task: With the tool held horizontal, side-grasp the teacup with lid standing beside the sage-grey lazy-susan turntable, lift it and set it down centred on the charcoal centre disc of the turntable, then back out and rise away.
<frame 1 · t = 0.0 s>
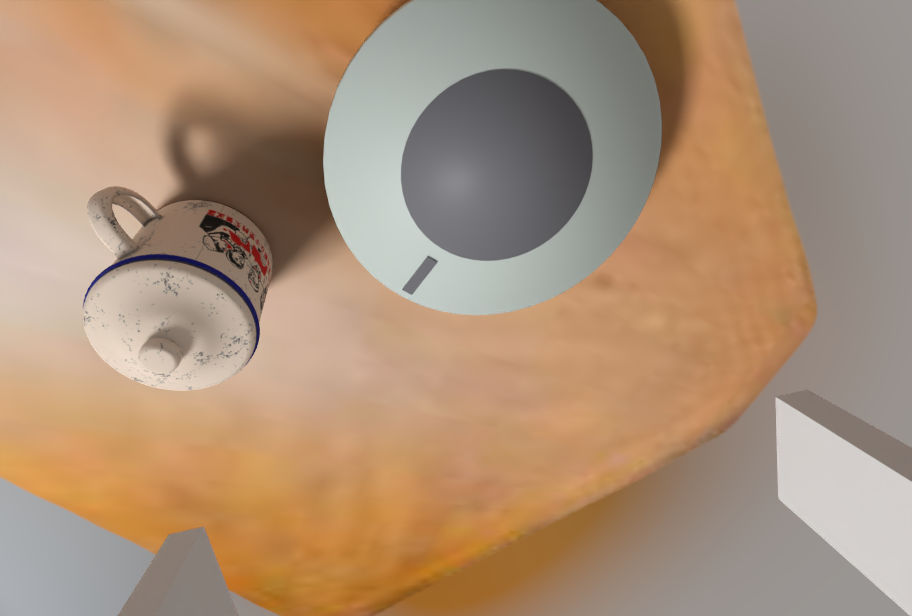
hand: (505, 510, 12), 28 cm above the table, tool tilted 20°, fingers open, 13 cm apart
turntable: (495, 170, 33), point 3 cm above the table, hinge at 0.0°
teacup with lid: (195, 238, 36), on the table
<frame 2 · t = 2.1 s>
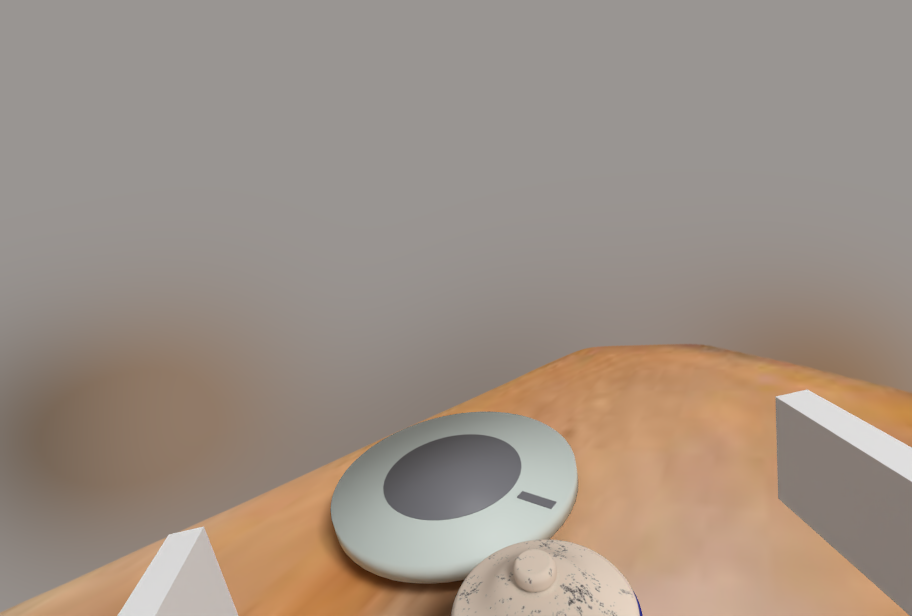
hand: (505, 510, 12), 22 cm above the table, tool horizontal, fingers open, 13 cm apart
turntable: (453, 479, 46), point 3 cm above the table, hinge at 0.0°
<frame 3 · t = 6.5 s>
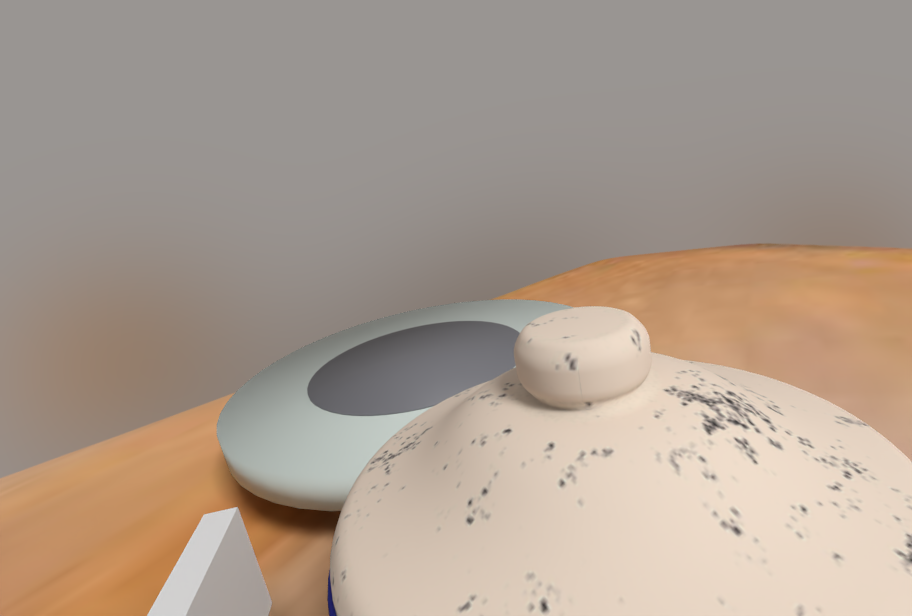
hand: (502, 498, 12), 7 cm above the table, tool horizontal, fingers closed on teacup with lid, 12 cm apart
turntable: (419, 372, 29), point 3 cm above the table, hinge at 0.0°
when the fingers open (12 cm above the table, at t = 11.8 s): teacup with lid drops 1 cm, resting on turntable.
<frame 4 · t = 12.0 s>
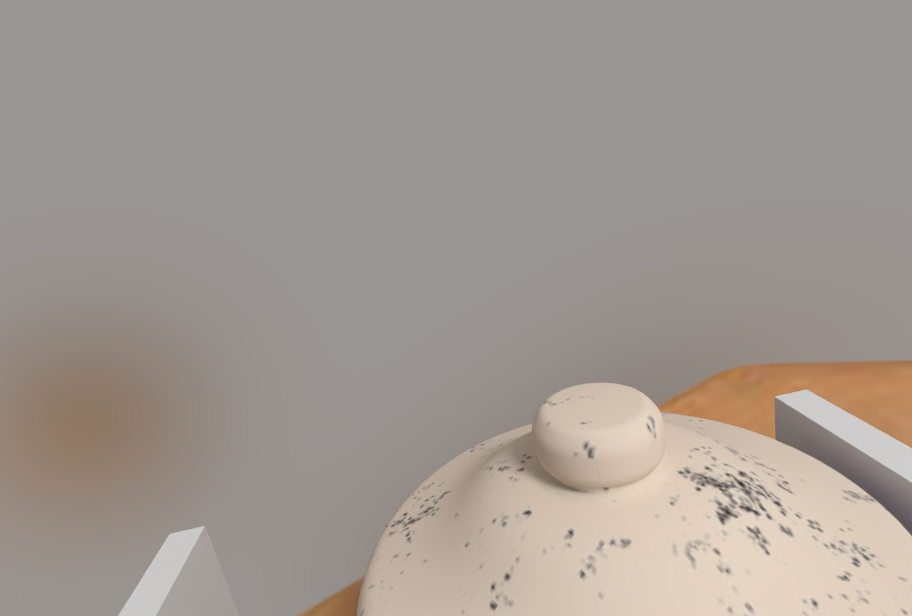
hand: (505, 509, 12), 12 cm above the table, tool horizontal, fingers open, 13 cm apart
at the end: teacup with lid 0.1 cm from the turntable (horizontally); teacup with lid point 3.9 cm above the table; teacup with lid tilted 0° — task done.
